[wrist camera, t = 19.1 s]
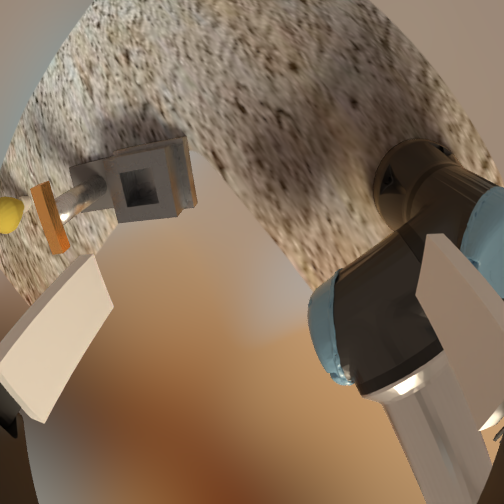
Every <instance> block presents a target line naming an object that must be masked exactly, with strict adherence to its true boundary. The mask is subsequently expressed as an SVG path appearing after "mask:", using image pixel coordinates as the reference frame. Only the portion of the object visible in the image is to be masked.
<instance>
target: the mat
mask: <svg viewBox="0 0 504 504" xmlns="http://www.w3.org/2000/svg"><path fill="white" fill-rule="evenodd" d="M111 157H113V156H111ZM111 157H107V158H103V159H99V160H95V161H91V162H87V163H84V164H80V165H76V166H73V167H70V168H69V169H70V174H71V178H72V182H73V186H74V187H75V186H77V185H78V184H80V183H82V182H84V181H85V180H87V179H89V178H91V177H92V176H94V175H99V176H101V177H103V178H104V180H105V181H106V184H107V191H106V193H105V194H104V195H103V196H102V197H100V198H99V199H97V200H96V201H95V202H93V203H92V204H91V205H89V206H88V207H87V208H85V209H84V210H83V211H81V213H83V212H89V211H96V210H102V209H109V208H114V205H113V201H112V197H111V193H110V189H109V185H108V181H107V176H106V172H105V167H104V163H103V161H104V160H106V159H108V158H111Z"/></svg>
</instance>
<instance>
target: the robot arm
mask: <svg viewBox="0 0 504 504" xmlns="http://www.w3.org/2000/svg"><path fill="white" fill-rule="evenodd" d="M373 191H374V200H375V204H376V207H377V210H378V212H379V214H380V216H381V217H382V219H383V220H384V221H385V223H386V224H387V225H388V226H389V227H390V228H391V229H392V230H393V231H394V232H393V233H391V234H390V235H389V236H387V237H386V238H385V239H383V240H382V241H381V242H379V243H378V244H377V245H375V246H374V247H373V248H371V249H370V250H368V251H367V252H366V253H364V254H363V255H362V256H360V257H359V258H357V259H356V260H355V261H353V262H352V263H350V264H349V265H348V266H346V267H345V268H341V269H339V270H337V271H336V272H335V274H334V275H333V276H332V277H331V278H330V279H328V280H327V281H326V282H324V283H323V284H322V285H320V286H319V287H318V288H317V289H316V290H315V291H314V292H313V294H312V295H311V297H310V300H309V304H308V326H309V331H310V335H311V339H312V342H313V345H314V348H315V351H316V353H317V356H318V358H319V360H320V362H321V364H322V366H323V367H324V369H325V370H326V372H327V373H330V375H331V378H332V379H333V380H334V381H335V382H336V383H338V384H340V385H352V384H354V383H355V385H356V387H357V388H358V391H359V392H360V395H361V396H362V397H363V398H365V399H369V400H372V401H376V402H379V403H380V404H382V406H383V408H384V411H385V413H386V415H387V417H388V419H389V421H390V423H391V425H392V427H393V429H394V431H395V434H396V436H397V438H398V440H399V442H400V444H401V446H402V449H403V451H404V453H405V455H406V457H407V460H408V462H409V464H410V466H411V468H412V471H413V473H414V475H415V478H416V480H417V482H418V484H419V487H420V489H421V491H422V494H423V496H424V499H425V501H426V503H427V504H504V427H503V428H502V429H501V430H500V431H499V432H498V433H497V434H496V436H495V438H494V439H493V440H494V441H496V440H497V439H498V438H499V437H500V436H501V435H502V434H503V436H502V439H501V441H500V446H499V449H498V452H497V455H496V458H495V461H494V463H493V466H492V463H491V460H490V457H489V454H488V451H487V448H486V445H485V442H484V440H483V437H482V434H481V430H483V429H486V428H489V427H491V426H493V425H496V424H497V423H498V422H499V421H500V420H501V419H502V418H503V416H504V188H503V187H499V186H498V185H496V184H494V183H492V182H490V181H488V180H486V179H484V178H483V177H481V176H479V175H477V174H475V173H473V172H471V171H469V170H467V169H465V168H463V166H462V165H461V163H460V162H459V161H458V159H457V158H456V157H455V155H454V154H453V153H452V152H451V151H450V150H449V149H447V148H446V147H444V146H443V145H441V144H439V143H436V142H434V141H431V140H427V139H420V138H417V139H410V140H406V141H404V142H402V143H400V144H398V145H396V146H395V147H394V148H392V149H391V150H390V151H389V152H388V153H387V154H386V155H385V157H384V158H383V160H382V161H381V163H380V165H379V167H378V169H377V172H376V175H375V179H374V189H373ZM113 308H114V306H113V303H112V301H111V298H110V296H109V294H108V291H107V289H106V286H105V283H104V281H103V278H102V276H101V273H100V270H99V268H98V265H97V262H96V259H95V256H94V254H84V255H80V256H79V257H78V258H77V259H76V260H75V261H74V262H73V263H72V264H71V265H70V266H69V267H68V268H67V269H66V270H65V271H64V272H63V273H62V274H61V275H60V276H59V277H58V278H57V279H56V280H55V281H54V282H53V283H52V284H51V285H50V286H49V287H48V288H47V289H46V290H45V291H44V292H43V293H42V295H41V296H40V297H39V298H38V299H37V300H36V301H35V302H34V303H33V304H32V306H31V307H30V308H29V309H28V310H27V311H26V312H25V314H24V315H23V316H22V317H21V318H20V319H19V321H18V322H17V323H16V324H15V325H14V327H13V328H12V329H11V330H10V331H9V332H8V334H7V335H6V336H5V337H4V339H3V340H2V341H1V342H0V504H39V503H38V499H37V496H36V492H35V488H34V483H33V479H32V474H31V469H30V464H29V458H28V452H27V446H26V438H25V430H24V421H23V417H22V415H20V413H19V410H20V408H22V409H23V410H24V411H25V412H26V413H27V414H28V415H29V416H30V418H33V419H35V420H37V421H39V422H42V423H45V421H46V419H47V418H48V416H49V414H50V412H51V410H52V408H53V406H54V405H55V403H56V401H57V399H58V397H59V395H60V394H61V392H62V390H63V388H64V386H65V385H66V383H67V381H68V380H69V378H70V376H71V374H72V373H73V371H74V369H75V368H76V366H77V364H78V362H79V361H80V359H81V358H82V356H83V354H84V353H85V351H86V350H87V348H88V346H89V345H90V343H91V342H92V340H93V338H94V337H95V335H96V333H97V332H98V330H99V329H100V327H101V326H102V324H103V323H104V321H105V319H106V318H107V317H108V315H109V313H110V312H111V311H112V309H113Z"/></svg>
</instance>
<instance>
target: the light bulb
mask: <svg viewBox="0 0 504 504" xmlns="http://www.w3.org/2000/svg"><path fill="white" fill-rule="evenodd" d="M31 204H32V202H31V199H30V197H29V196H21V197H19V198H18V199H15V198H12V197H1V198H0V233H3V234H7V233H11V232H12V231H14V230H15V229H16V228H17V226H18V224H19V222H20V220H21V218H22V214H23V213H25V212H26V211H28V210H29V207H30V206H31Z"/></svg>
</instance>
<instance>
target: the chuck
mask: <svg viewBox="0 0 504 504" xmlns="http://www.w3.org/2000/svg"><path fill="white" fill-rule="evenodd" d="M103 163H104V167H105V172H106V176H107V181H108V185H109V189H110V193H111V197H112V201H113V205H114V209H115V213H116V216H117V220H118V223H125V222H134V221H143V220H152V219H161V218H171V217H178V215H179V214H180V213H181V212H182V210H183V209H186V208H194V207H195V206H196V204H197V197H196V191H195V185H194V180H193V174H192V168H191V161H190V155H189V149H188V142H187V136H184V137H178V138H173V139H167V140H162V141H156V142H151V143H146V144H141V145H137V146H132V147H128V148H123V149H119V150H116V151H114V152H113V157H111V158H108V159H106V160H104V161H103Z"/></svg>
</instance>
